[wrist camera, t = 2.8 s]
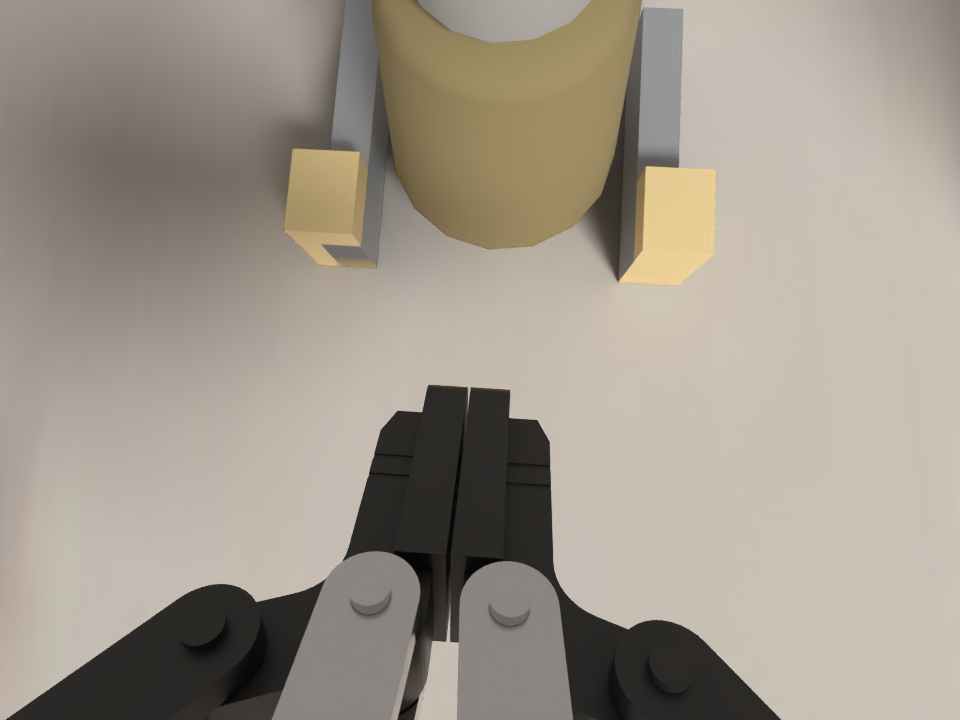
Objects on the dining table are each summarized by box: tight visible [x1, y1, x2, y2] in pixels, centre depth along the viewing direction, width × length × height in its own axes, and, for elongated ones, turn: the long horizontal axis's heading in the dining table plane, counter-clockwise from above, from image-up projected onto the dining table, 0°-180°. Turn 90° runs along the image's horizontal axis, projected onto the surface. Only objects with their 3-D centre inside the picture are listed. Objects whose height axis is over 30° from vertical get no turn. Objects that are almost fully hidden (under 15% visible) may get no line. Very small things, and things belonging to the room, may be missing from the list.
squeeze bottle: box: [371, 0, 642, 249], centre depth 17 cm, size 8×8×18 cm
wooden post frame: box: [284, 0, 716, 286], centre depth 24 cm, size 18×18×6 cm
